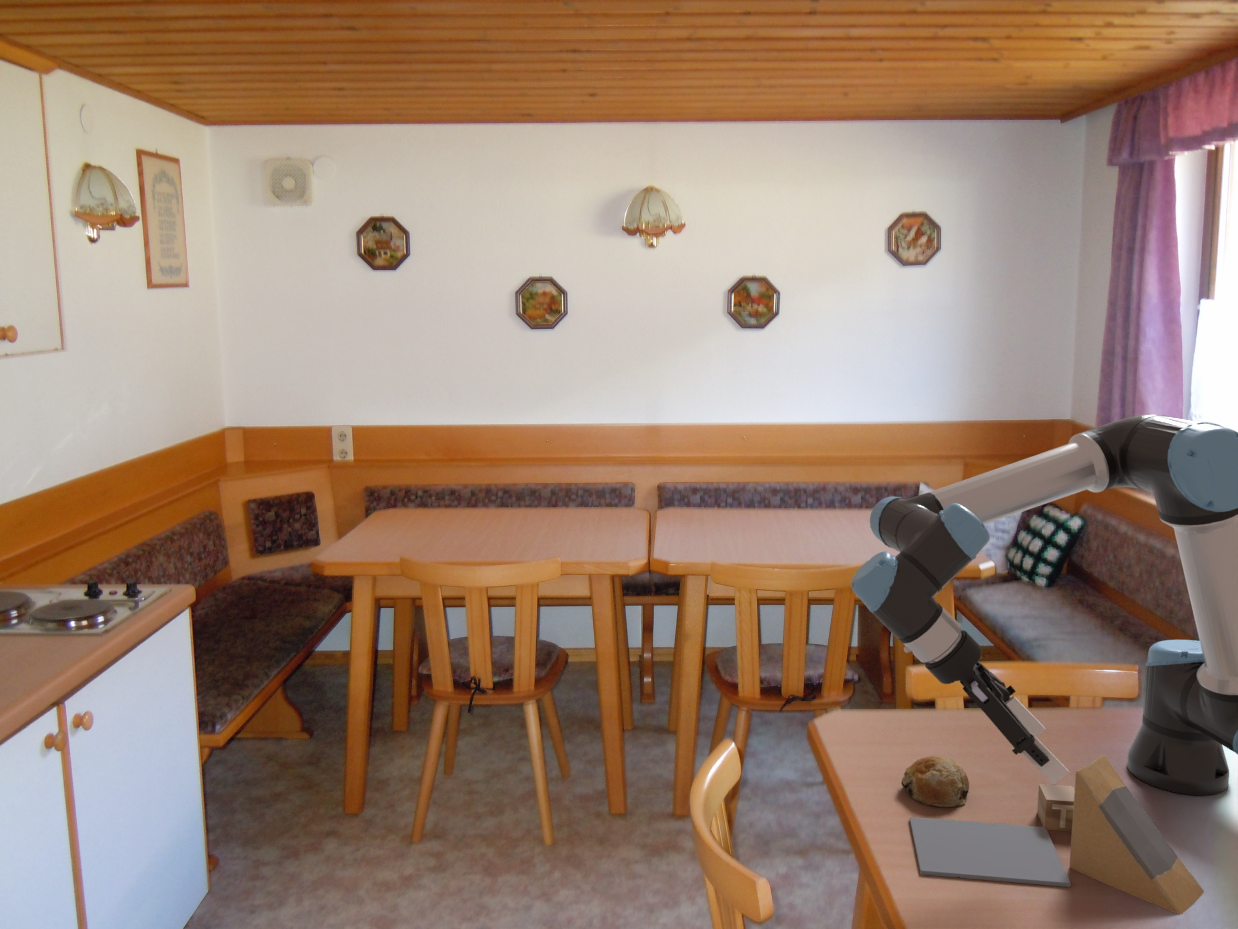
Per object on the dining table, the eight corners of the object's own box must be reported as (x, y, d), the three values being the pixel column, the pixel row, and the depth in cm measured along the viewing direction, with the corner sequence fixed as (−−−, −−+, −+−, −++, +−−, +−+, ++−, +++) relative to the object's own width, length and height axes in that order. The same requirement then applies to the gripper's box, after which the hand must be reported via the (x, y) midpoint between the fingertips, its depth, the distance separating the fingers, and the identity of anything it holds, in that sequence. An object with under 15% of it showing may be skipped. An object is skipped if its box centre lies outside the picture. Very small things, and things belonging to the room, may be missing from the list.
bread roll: (945, 833, 164) (970, 796, 160) (889, 793, 168) (912, 756, 165) (961, 806, 172) (985, 771, 169) (907, 768, 176) (929, 733, 173)
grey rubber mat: (1045, 831, 157) (1045, 827, 157) (1070, 887, 142) (1070, 883, 142) (909, 820, 160) (909, 817, 160) (920, 874, 146) (920, 870, 146)
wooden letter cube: (1070, 816, 162) (1072, 786, 161) (1079, 833, 156) (1081, 802, 156) (1037, 813, 162) (1038, 784, 161) (1044, 830, 157) (1046, 800, 156)
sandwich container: (1181, 917, 136) (1191, 812, 133) (1067, 869, 147) (1075, 771, 145) (1207, 892, 141) (1217, 790, 139) (1095, 847, 153) (1102, 752, 150)
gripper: (912, 634, 157) (1010, 733, 157) (933, 698, 133) (1048, 815, 133) (950, 602, 155) (1049, 702, 155) (978, 661, 131) (1095, 780, 131)
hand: (1049, 755), depth 144 cm, fingers open, 13 cm apart
